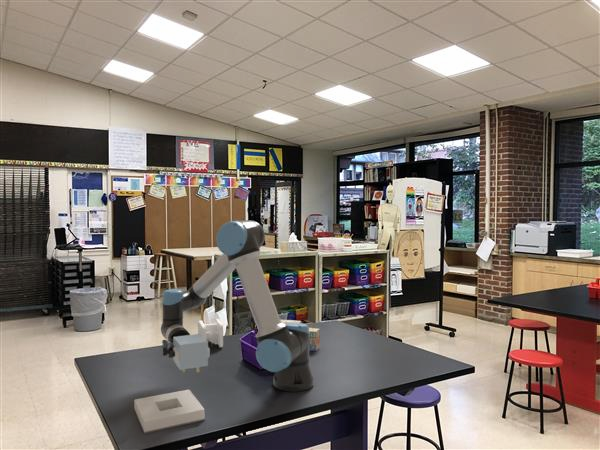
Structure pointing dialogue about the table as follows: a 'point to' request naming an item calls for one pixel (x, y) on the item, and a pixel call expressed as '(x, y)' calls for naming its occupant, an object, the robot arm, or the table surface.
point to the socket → (168, 410)
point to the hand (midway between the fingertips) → (193, 355)
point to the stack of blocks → (310, 336)
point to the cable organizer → (212, 332)
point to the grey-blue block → (191, 351)
